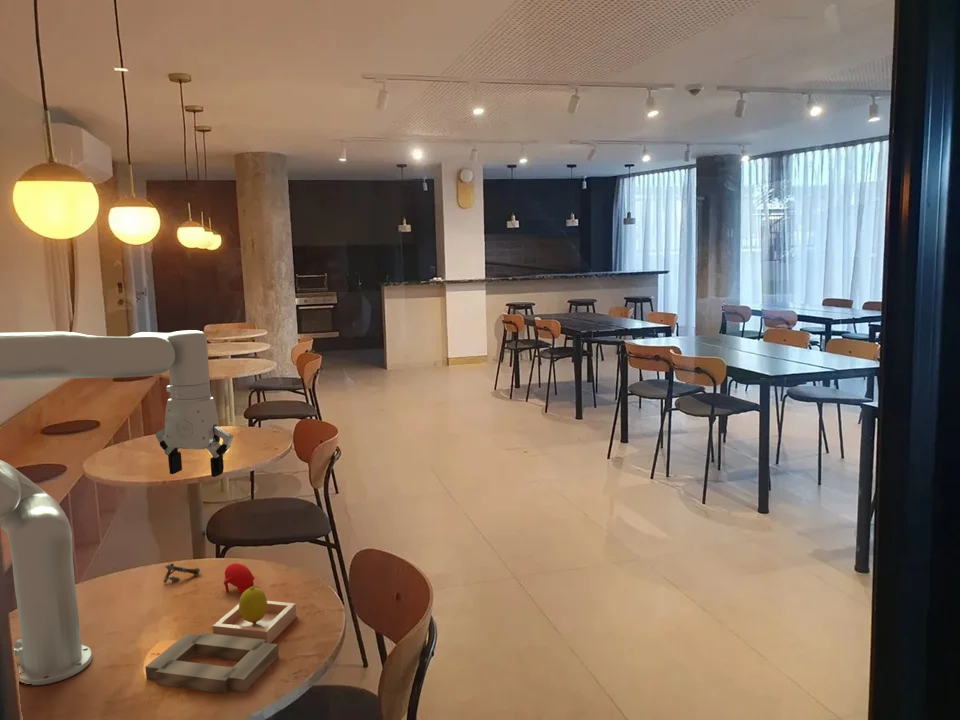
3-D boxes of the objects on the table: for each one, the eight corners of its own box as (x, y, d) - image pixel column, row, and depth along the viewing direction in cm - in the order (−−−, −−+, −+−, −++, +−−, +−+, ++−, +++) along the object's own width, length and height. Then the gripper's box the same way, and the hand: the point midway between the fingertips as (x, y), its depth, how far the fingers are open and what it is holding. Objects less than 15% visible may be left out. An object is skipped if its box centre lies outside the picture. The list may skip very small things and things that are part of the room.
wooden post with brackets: (159, 580, 174) (165, 561, 174) (191, 584, 179) (198, 566, 179) (161, 583, 172) (167, 564, 173) (194, 586, 177) (200, 568, 178)
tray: (213, 639, 148) (212, 625, 147) (245, 611, 159) (244, 598, 159) (267, 646, 145) (266, 631, 144) (296, 616, 156) (295, 603, 156)
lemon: (234, 626, 151) (231, 589, 150) (254, 614, 156) (252, 579, 154) (254, 632, 148) (251, 595, 147) (274, 620, 153) (271, 584, 152)
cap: (213, 577, 169) (221, 571, 165) (234, 560, 173) (242, 554, 169) (235, 604, 169) (243, 599, 165) (255, 587, 173) (263, 582, 169)
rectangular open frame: (142, 682, 133) (141, 669, 133) (190, 642, 147) (189, 631, 146) (241, 695, 129) (240, 682, 128) (281, 653, 142) (280, 641, 142)
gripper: (141, 394, 147) (148, 476, 150) (217, 396, 143) (223, 481, 145) (165, 387, 154) (171, 466, 157) (239, 389, 150) (244, 470, 153)
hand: (196, 473), depth 151 cm, fingers open, 9 cm apart
